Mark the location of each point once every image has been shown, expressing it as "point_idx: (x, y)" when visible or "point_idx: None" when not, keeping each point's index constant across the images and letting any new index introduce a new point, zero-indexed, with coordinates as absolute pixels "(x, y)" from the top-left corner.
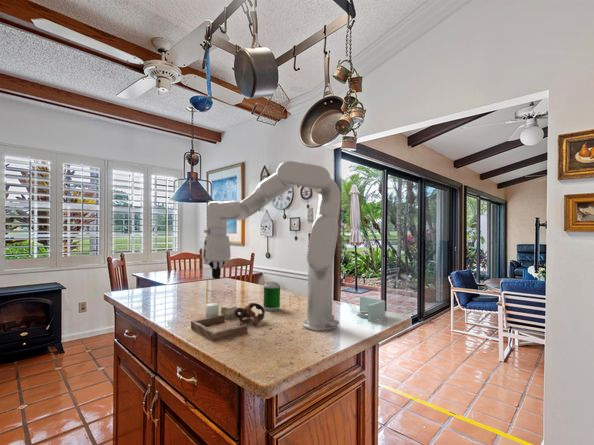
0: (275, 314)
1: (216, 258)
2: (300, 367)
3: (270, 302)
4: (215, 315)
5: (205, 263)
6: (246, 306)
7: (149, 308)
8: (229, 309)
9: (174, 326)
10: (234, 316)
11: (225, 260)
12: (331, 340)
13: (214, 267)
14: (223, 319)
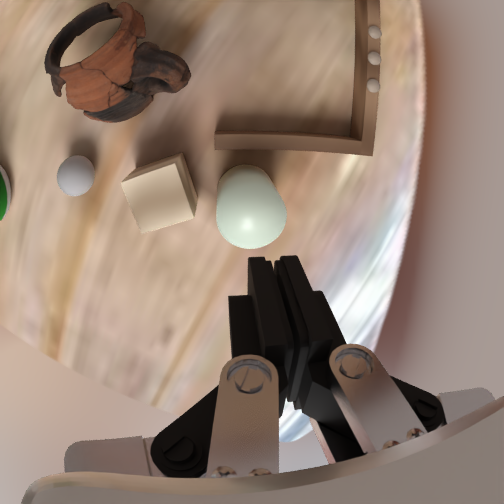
0: (5, 116)
1: (471, 475)
2: None
3: None
4: (245, 170)
5: (483, 395)
6: (113, 71)
7: None
8: (171, 163)
9: (385, 205)
10: (146, 165)
11: (159, 478)
12: None
13: (364, 363)
14: (220, 132)
